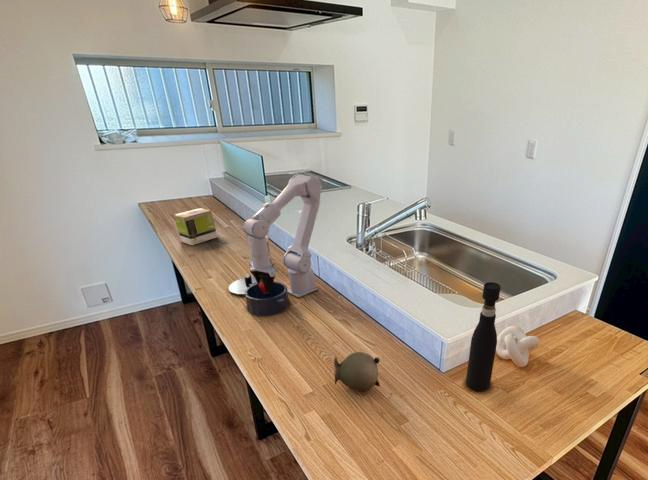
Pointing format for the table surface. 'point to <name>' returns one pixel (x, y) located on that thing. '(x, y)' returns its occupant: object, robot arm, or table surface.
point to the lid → (241, 285)
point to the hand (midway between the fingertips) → (265, 289)
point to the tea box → (195, 226)
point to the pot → (267, 299)
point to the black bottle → (483, 342)
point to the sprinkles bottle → (268, 250)
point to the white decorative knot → (516, 345)
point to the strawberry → (262, 287)
